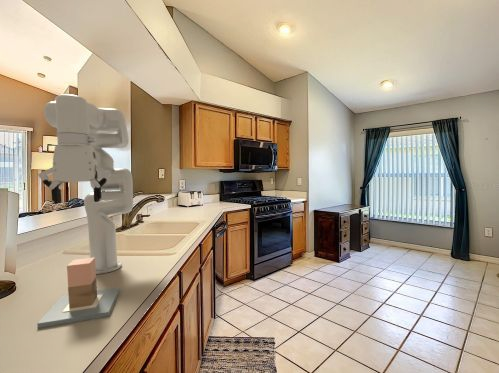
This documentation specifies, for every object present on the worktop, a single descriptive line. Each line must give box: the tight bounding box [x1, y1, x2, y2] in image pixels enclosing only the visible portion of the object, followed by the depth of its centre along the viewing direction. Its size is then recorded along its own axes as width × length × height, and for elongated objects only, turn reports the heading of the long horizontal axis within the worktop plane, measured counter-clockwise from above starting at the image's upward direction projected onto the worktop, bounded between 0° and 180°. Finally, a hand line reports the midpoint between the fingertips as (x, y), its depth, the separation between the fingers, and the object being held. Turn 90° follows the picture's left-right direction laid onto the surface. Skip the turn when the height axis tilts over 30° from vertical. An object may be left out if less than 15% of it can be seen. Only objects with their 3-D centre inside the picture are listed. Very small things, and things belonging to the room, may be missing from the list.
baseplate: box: [36, 287, 121, 329], centre depth 75 cm, size 16×16×1 cm
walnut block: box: [67, 277, 98, 309], centre depth 75 cm, size 6×6×6 cm
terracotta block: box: [66, 257, 97, 288], centre depth 74 cm, size 6×6×6 cm
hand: (77, 202), depth 73 cm, fingers open, 9 cm apart
